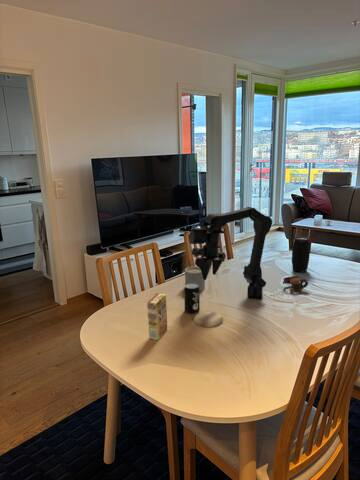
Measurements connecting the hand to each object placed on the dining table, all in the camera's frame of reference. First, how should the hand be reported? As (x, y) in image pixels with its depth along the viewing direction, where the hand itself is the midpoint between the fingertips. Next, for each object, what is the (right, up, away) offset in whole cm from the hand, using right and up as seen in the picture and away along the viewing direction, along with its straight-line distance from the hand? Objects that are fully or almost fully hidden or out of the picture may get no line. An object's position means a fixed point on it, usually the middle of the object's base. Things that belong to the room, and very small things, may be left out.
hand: (209, 277), depth 160 cm
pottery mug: (+44, -9, +20) cm, 49 cm away
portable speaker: (+56, -1, +46) cm, 72 cm away
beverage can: (-8, -15, -1) cm, 17 cm away
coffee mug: (-4, -8, +25) cm, 27 cm away
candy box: (-21, -20, -20) cm, 36 cm away
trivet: (-1, -17, -10) cm, 20 cm away
